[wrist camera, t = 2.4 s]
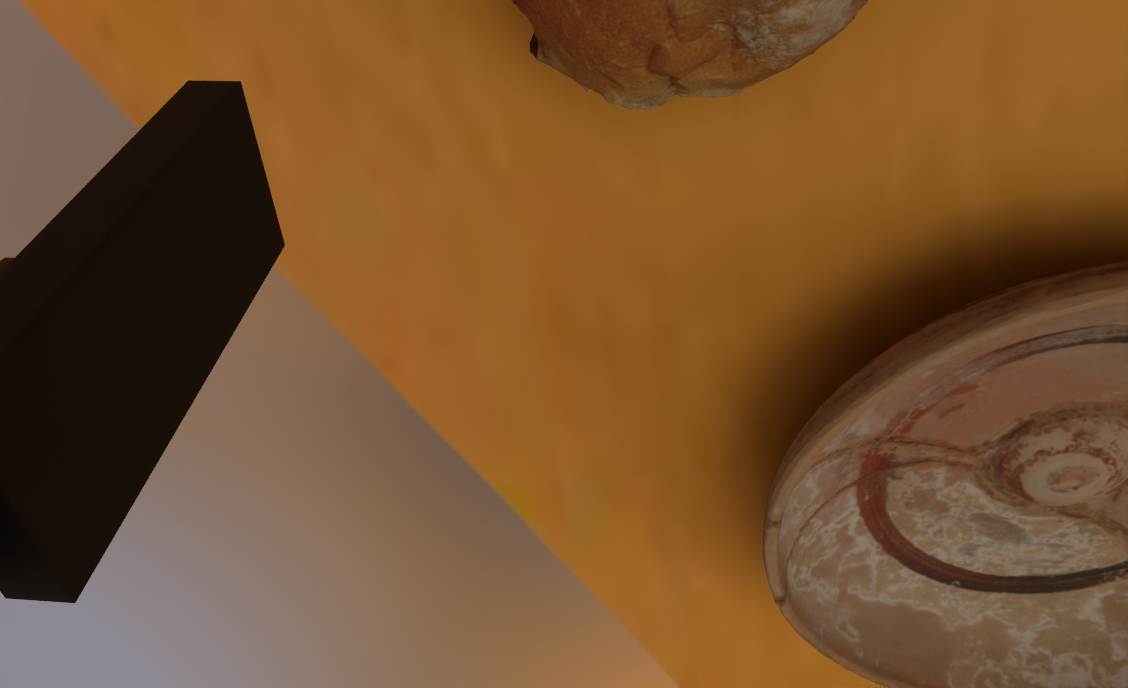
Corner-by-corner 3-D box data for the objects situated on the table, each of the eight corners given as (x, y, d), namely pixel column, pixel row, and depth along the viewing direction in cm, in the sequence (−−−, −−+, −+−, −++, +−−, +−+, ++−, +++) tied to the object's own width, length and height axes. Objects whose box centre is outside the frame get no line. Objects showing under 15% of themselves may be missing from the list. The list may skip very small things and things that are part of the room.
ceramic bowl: (932, 669, 46) (955, 767, 42) (636, 408, 36) (631, 506, 32) (1498, 493, 34) (1600, 606, 30) (1295, 33, 24) (1410, 118, 20)
